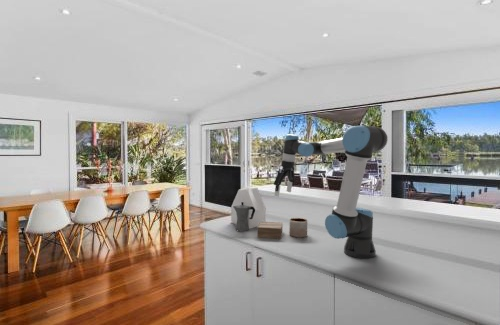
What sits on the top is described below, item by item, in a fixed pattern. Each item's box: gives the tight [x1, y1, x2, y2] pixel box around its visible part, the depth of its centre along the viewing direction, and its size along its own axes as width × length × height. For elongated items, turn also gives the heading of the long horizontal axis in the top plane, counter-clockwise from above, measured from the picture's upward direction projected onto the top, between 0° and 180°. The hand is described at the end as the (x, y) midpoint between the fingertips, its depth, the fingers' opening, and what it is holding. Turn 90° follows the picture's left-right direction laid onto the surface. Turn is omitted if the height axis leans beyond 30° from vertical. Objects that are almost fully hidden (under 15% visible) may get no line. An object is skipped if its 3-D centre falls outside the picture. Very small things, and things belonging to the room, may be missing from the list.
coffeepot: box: [233, 202, 255, 232], centre depth 193 cm, size 15×9×18 cm, turn 69°
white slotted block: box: [230, 186, 267, 229], centre depth 208 cm, size 19×15×25 cm
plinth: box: [257, 221, 283, 240], centre depth 183 cm, size 14×14×6 cm
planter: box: [288, 217, 308, 238], centre depth 182 cm, size 11×11×10 cm
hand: (282, 193), depth 181 cm, fingers open, 13 cm apart
